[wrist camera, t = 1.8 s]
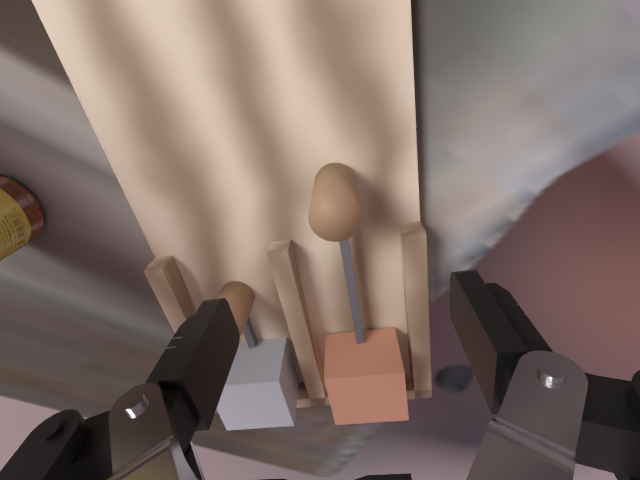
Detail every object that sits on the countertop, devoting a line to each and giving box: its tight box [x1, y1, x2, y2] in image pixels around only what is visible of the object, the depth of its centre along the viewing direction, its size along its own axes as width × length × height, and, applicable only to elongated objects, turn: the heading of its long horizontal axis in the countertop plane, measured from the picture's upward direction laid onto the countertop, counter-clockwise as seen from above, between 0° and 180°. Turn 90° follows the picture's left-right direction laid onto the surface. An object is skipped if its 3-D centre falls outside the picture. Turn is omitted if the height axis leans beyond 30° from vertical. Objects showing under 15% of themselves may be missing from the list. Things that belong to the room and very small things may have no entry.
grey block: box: [217, 281, 300, 430], centre depth 30 cm, size 6×13×5 cm, turn 10°
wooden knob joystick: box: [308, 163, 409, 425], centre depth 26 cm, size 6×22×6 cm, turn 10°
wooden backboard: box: [32, 0, 432, 414], centre depth 25 cm, size 22×40×3 cm, turn 10°
